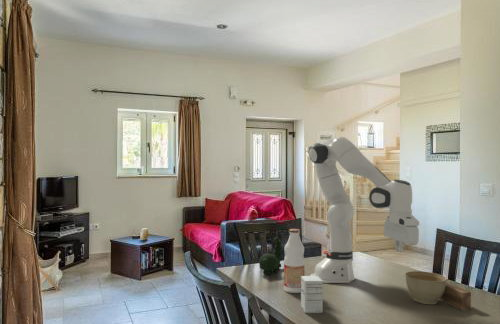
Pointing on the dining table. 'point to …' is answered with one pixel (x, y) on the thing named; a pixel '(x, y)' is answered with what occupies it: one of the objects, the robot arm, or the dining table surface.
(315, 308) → the supplement box
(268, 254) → the green shrub
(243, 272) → the dining table surface
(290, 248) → the fruit juice
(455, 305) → the board
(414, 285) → the planter bowl
